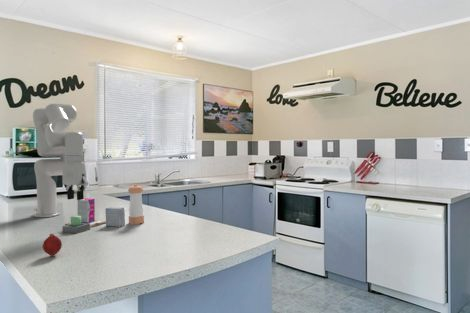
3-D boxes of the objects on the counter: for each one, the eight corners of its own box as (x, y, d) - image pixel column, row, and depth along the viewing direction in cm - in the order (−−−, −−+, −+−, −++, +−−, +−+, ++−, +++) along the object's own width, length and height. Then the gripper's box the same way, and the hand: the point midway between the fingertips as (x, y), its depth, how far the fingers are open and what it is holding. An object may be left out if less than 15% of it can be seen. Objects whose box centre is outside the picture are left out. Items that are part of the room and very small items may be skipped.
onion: (47, 253, 121) (47, 231, 121) (64, 253, 122) (64, 230, 122) (39, 259, 116) (39, 235, 115) (57, 258, 116) (56, 235, 116)
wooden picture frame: (65, 225, 166) (65, 222, 166) (83, 220, 176) (83, 218, 176) (90, 227, 160) (89, 225, 160) (107, 222, 170) (107, 220, 170)
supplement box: (87, 223, 164) (87, 200, 164) (77, 223, 166) (76, 199, 166) (95, 221, 170) (94, 198, 170) (85, 220, 172) (84, 197, 171)
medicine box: (125, 225, 165) (124, 207, 164) (119, 227, 160) (118, 208, 160) (111, 224, 167) (111, 206, 167) (105, 226, 163) (105, 208, 163)
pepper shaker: (128, 225, 164) (127, 185, 164) (129, 221, 171) (128, 184, 171) (144, 223, 166) (143, 184, 166) (143, 220, 173) (143, 183, 173)
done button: (68, 228, 154) (68, 217, 153) (76, 226, 158) (76, 215, 158) (75, 229, 152) (75, 218, 152) (83, 226, 156) (83, 216, 156)
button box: (62, 231, 153) (62, 226, 153) (77, 227, 160) (76, 222, 160) (75, 233, 150) (75, 227, 150) (89, 229, 157) (89, 223, 157)
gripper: (53, 159, 154) (54, 199, 154) (81, 159, 147) (82, 201, 148) (67, 159, 161) (68, 197, 161) (95, 159, 154) (96, 199, 155)
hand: (75, 198), depth 154 cm, fingers open, 5 cm apart
